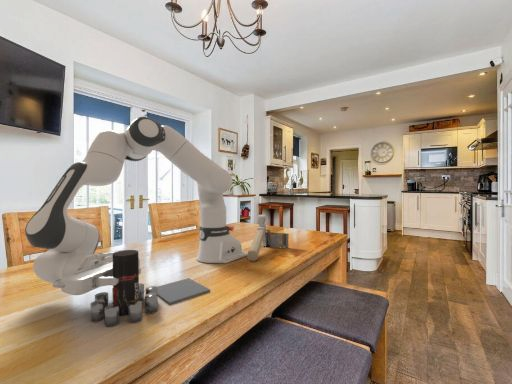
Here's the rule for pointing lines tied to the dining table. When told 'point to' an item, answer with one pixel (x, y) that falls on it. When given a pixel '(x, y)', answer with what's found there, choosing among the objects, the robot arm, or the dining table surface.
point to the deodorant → (126, 279)
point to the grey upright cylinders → (111, 312)
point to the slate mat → (180, 290)
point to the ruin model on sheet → (276, 239)
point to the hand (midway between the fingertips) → (128, 276)
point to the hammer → (258, 239)
